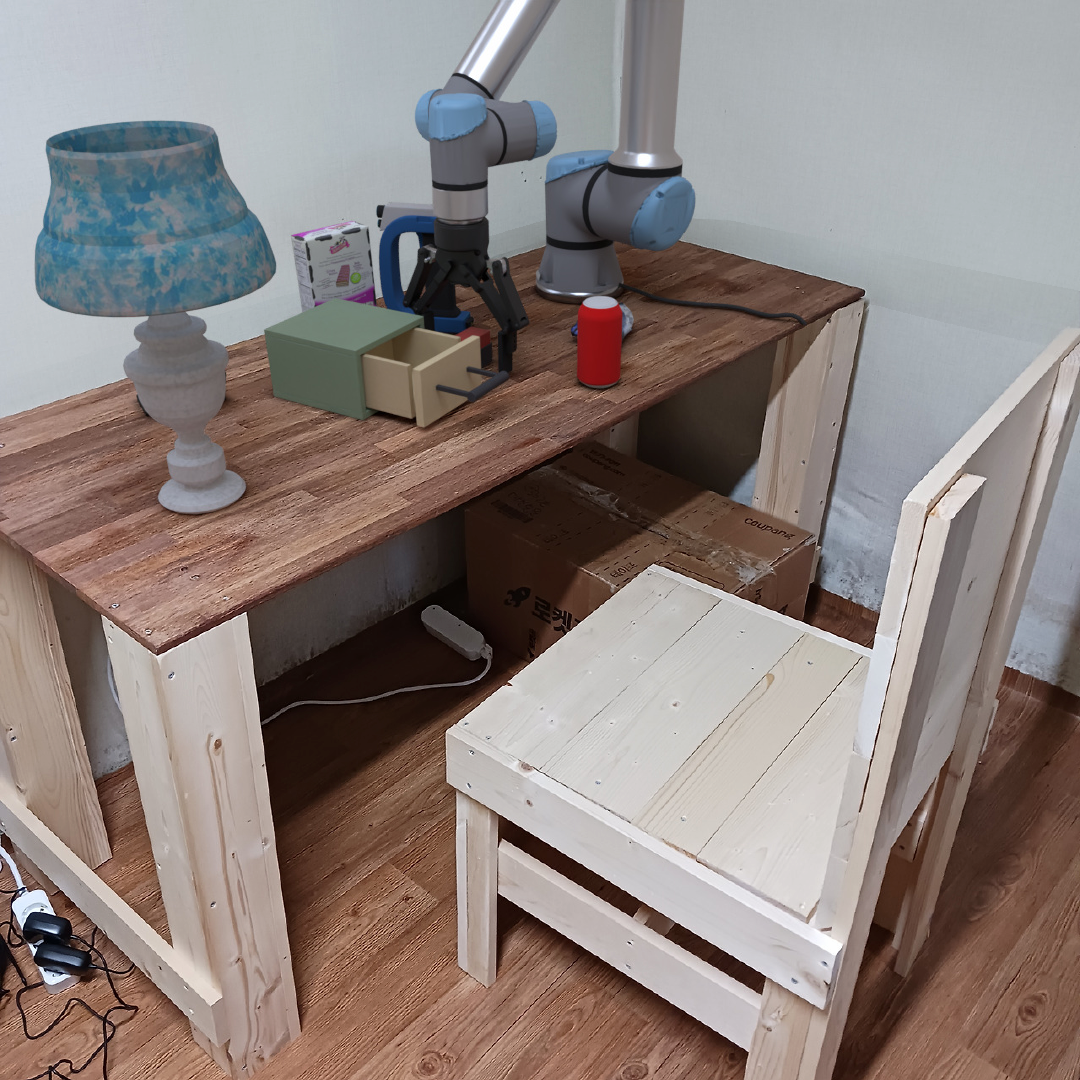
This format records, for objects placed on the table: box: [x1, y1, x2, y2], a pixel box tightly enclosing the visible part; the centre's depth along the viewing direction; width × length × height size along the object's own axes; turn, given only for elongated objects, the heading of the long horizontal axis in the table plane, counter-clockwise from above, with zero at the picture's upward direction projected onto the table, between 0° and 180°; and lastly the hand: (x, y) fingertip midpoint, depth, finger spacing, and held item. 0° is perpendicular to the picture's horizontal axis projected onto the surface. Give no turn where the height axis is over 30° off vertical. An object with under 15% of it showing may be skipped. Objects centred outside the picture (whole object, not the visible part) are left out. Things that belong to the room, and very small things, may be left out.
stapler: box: [454, 326, 494, 369], centre depth 156 cm, size 8×3×5 cm, turn 149°
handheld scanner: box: [375, 201, 475, 334], centre depth 166 cm, size 5×16×20 cm, turn 78°
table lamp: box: [34, 120, 277, 515], centre depth 114 cm, size 24×24×40 cm
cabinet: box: [263, 298, 424, 421], centre depth 148 cm, size 16×15×10 cm
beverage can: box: [576, 296, 623, 389], centre depth 149 cm, size 6×6×12 cm
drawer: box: [360, 327, 510, 428], centre depth 142 cm, size 21×14×8 cm, turn 59°
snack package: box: [570, 295, 635, 345], centre depth 166 cm, size 12×6×12 cm
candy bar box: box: [290, 220, 378, 313], centre depth 166 cm, size 11×5×16 cm, turn 131°
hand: (466, 364), depth 156 cm, fingers open, 13 cm apart
